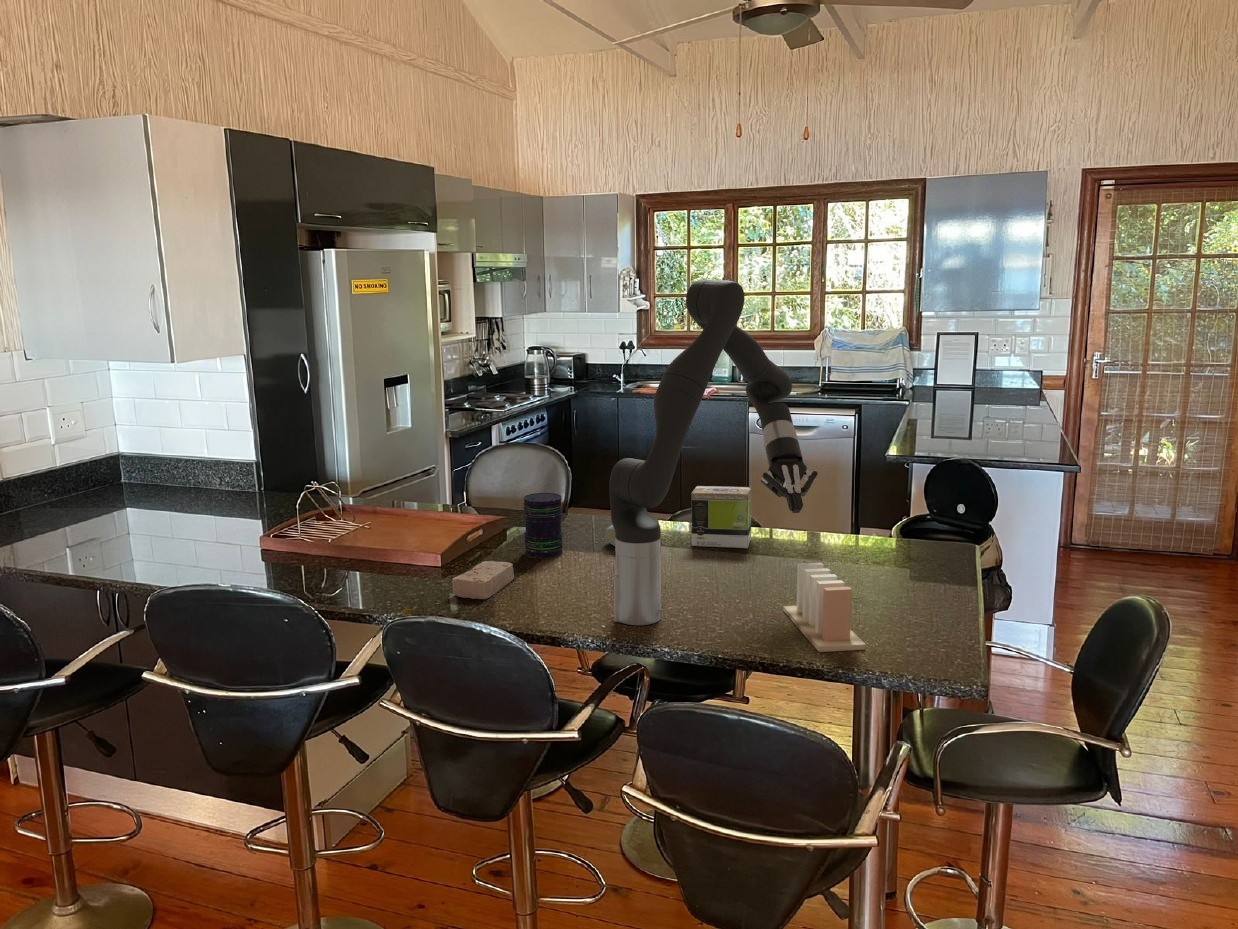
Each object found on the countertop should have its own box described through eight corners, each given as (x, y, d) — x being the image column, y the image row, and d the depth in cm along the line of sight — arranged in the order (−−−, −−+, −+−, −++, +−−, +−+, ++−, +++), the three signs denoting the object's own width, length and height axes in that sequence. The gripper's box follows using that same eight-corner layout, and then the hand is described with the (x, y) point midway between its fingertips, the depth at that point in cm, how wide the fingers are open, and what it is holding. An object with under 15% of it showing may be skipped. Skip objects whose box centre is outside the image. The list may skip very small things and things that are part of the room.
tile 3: (808, 623, 186) (810, 575, 185) (832, 622, 187) (834, 574, 185) (811, 626, 185) (812, 577, 183) (835, 624, 185) (837, 576, 184)
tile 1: (796, 609, 194) (797, 563, 192) (819, 608, 195) (821, 562, 193) (798, 612, 193) (800, 565, 191) (822, 611, 193) (823, 564, 191)
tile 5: (821, 638, 179) (823, 587, 177) (847, 636, 179) (849, 586, 177) (824, 641, 177) (826, 590, 175) (850, 639, 178) (852, 589, 176)
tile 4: (815, 630, 182) (816, 581, 181) (839, 629, 183) (841, 580, 181) (817, 633, 181) (819, 584, 179) (842, 632, 181) (844, 582, 180)
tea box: (751, 539, 252) (752, 486, 250) (747, 549, 243) (748, 494, 240) (696, 537, 256) (696, 484, 253) (690, 546, 246) (690, 491, 243)
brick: (483, 577, 223) (482, 558, 222) (515, 579, 220) (515, 560, 219) (451, 599, 207) (450, 579, 206) (486, 602, 205) (485, 582, 204)
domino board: (783, 610, 197) (783, 606, 197) (824, 608, 198) (824, 604, 198) (819, 652, 174) (819, 647, 174) (865, 649, 175) (865, 644, 175)
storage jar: (551, 546, 248) (550, 491, 245) (570, 554, 240) (569, 497, 237) (518, 552, 242) (516, 496, 240) (536, 561, 234) (534, 503, 231)
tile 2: (802, 616, 190) (803, 569, 188) (826, 615, 191) (827, 568, 189) (804, 619, 189) (806, 571, 187) (828, 617, 189) (830, 570, 187)
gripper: (756, 436, 206) (770, 502, 196) (814, 434, 207) (831, 500, 197) (749, 455, 212) (763, 521, 202) (806, 454, 213) (822, 519, 204)
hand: (797, 511), depth 200 cm, fingers closed
